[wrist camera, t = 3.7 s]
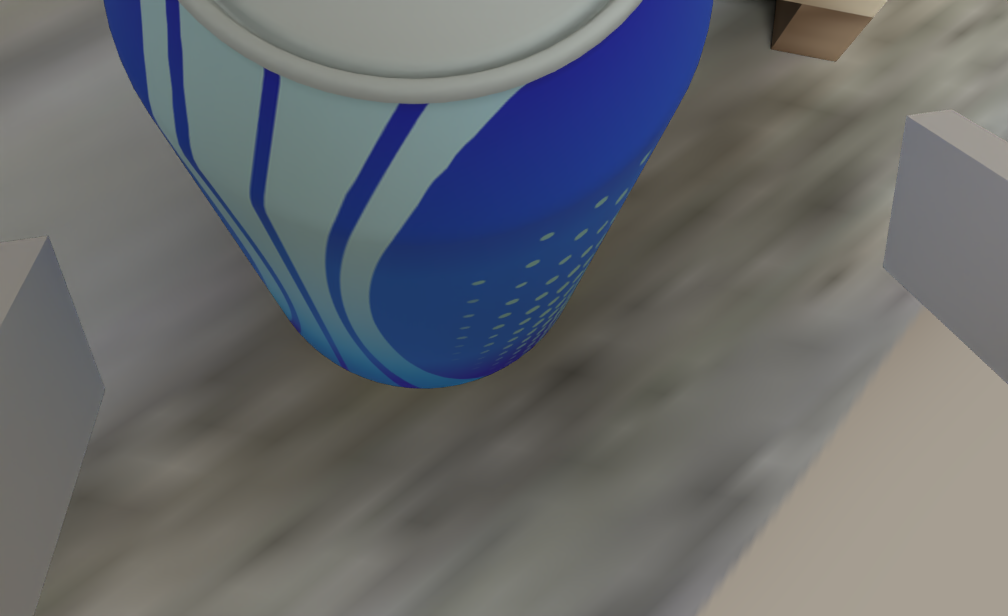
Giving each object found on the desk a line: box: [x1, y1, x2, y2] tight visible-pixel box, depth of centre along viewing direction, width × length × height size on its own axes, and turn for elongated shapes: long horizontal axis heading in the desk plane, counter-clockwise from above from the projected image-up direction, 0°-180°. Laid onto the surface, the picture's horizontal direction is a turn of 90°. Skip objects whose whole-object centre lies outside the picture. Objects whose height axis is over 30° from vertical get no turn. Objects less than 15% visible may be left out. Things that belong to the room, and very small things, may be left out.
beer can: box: [104, 0, 713, 388], centre depth 19 cm, size 8×8×16 cm
